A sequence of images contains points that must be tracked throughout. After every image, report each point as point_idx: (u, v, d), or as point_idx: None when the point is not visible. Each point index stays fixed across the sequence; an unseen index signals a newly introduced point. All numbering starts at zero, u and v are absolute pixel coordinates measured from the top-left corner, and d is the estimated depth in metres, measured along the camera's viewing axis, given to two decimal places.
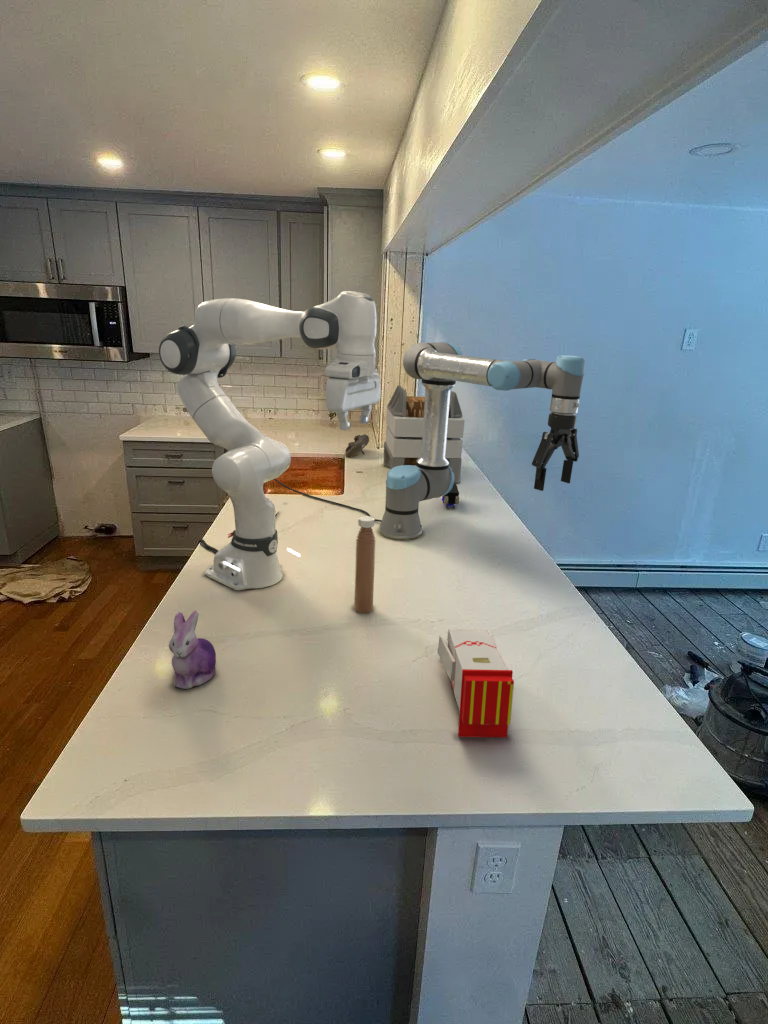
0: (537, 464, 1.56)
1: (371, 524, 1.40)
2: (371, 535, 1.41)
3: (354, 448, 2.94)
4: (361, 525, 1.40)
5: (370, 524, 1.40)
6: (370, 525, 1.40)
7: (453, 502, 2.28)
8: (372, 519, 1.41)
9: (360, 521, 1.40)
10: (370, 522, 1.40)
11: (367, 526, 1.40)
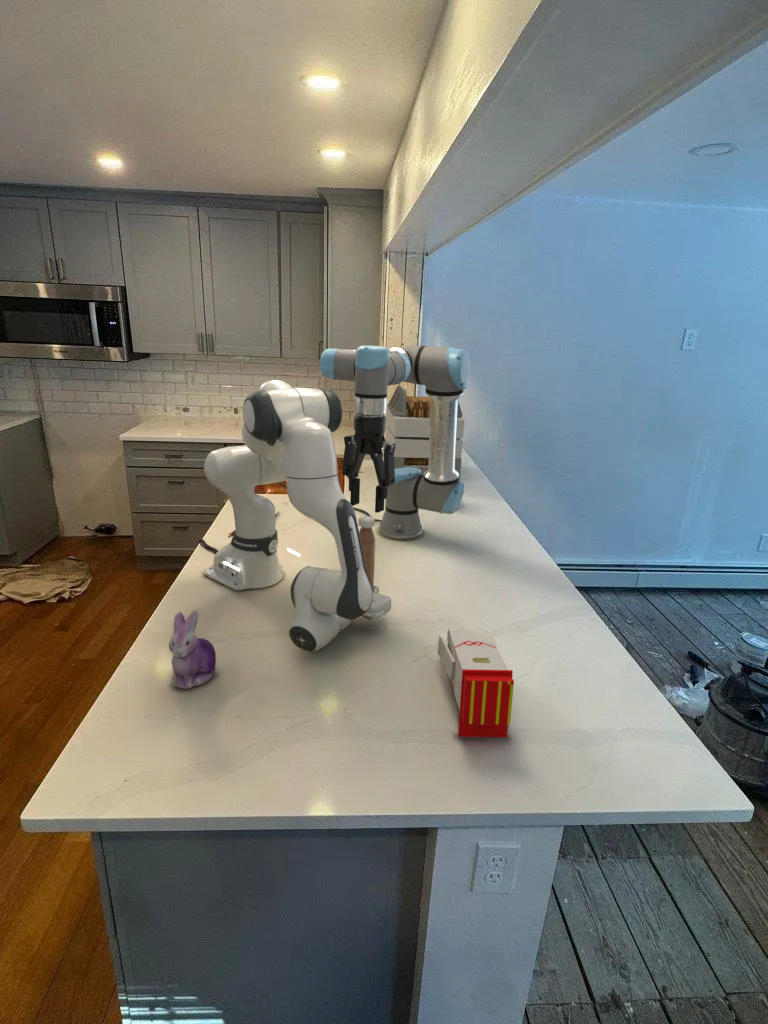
0: (393, 481, 1.34)
1: (371, 524, 1.40)
2: (371, 535, 1.41)
3: None
4: (361, 525, 1.40)
5: (370, 524, 1.40)
6: (370, 525, 1.40)
7: None
8: (372, 519, 1.41)
9: (360, 521, 1.40)
10: (370, 522, 1.40)
11: (367, 526, 1.40)
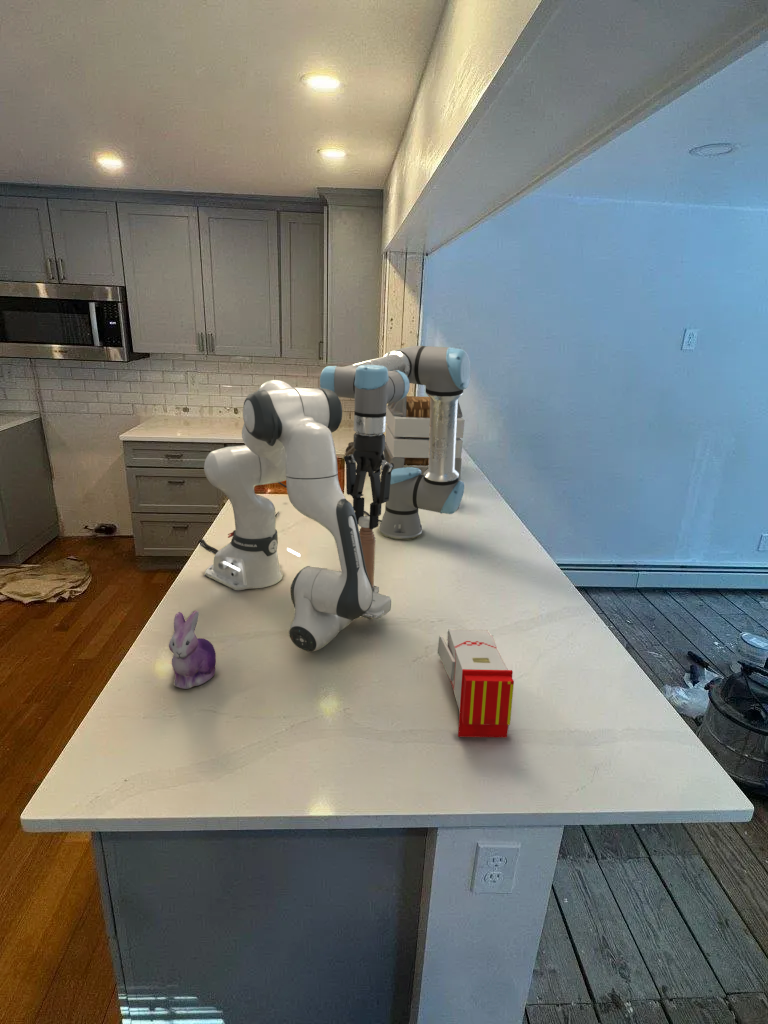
0: (387, 499, 1.36)
1: None
2: (371, 535, 1.41)
3: None
4: (361, 525, 1.40)
5: None
6: None
7: None
8: None
9: (360, 521, 1.40)
10: None
11: (367, 526, 1.40)
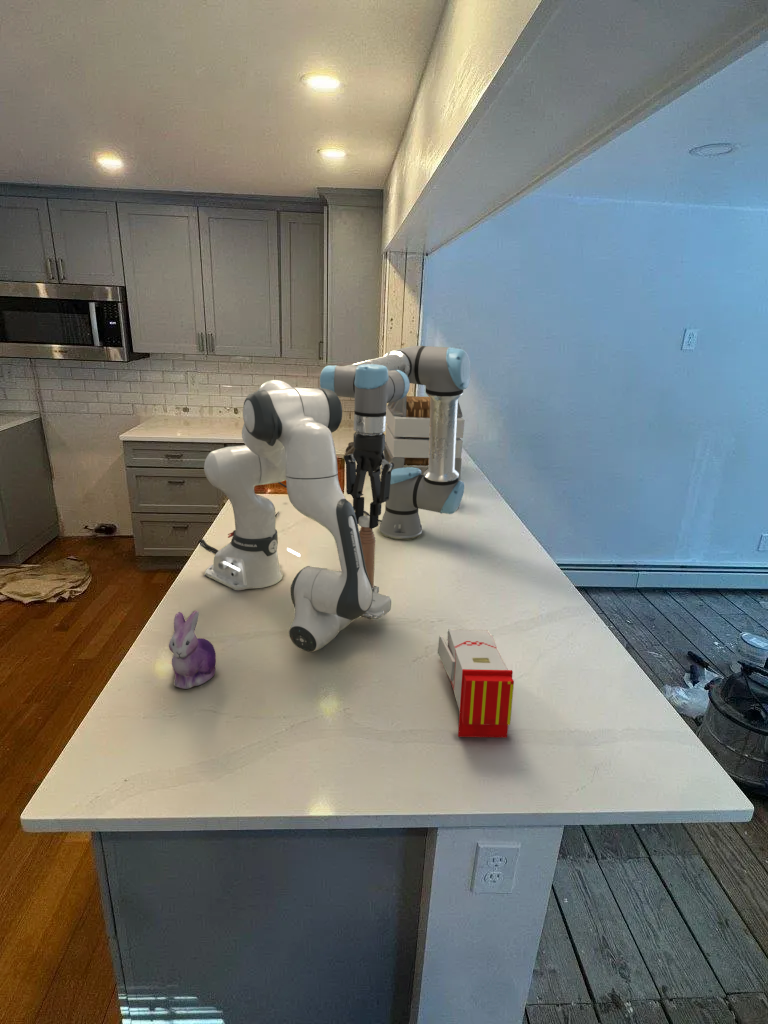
0: (387, 498, 1.36)
1: None
2: (371, 535, 1.41)
3: (354, 448, 2.94)
4: None
5: None
6: None
7: None
8: (366, 516, 1.42)
9: None
10: None
11: None
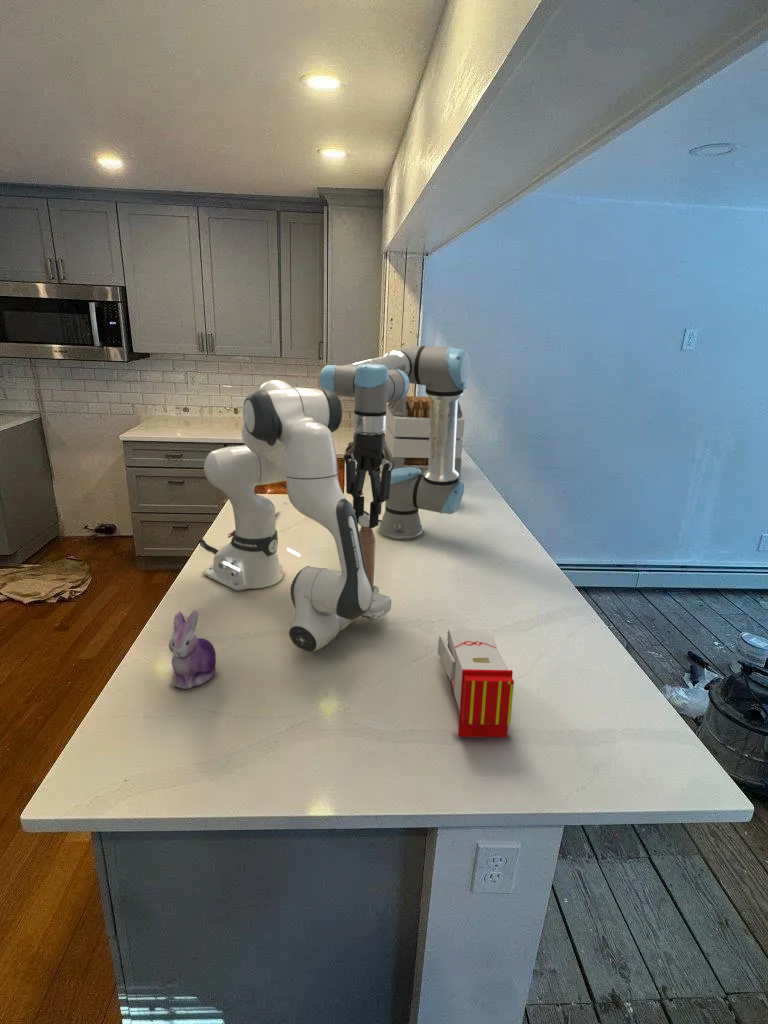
0: (387, 498, 1.36)
1: None
2: (371, 535, 1.41)
3: (354, 448, 2.94)
4: None
5: None
6: None
7: None
8: (360, 518, 1.41)
9: None
10: None
11: None
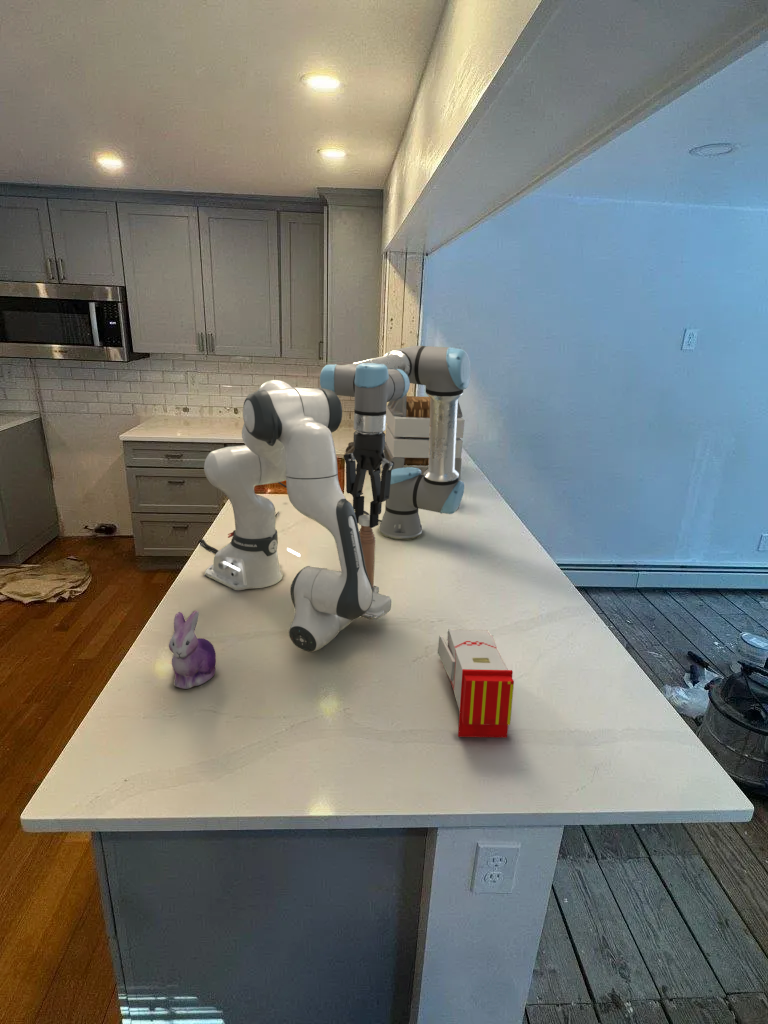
0: (387, 497, 1.36)
1: (365, 523, 1.39)
2: (371, 535, 1.41)
3: (354, 448, 2.94)
4: (358, 522, 1.41)
5: (364, 523, 1.39)
6: (364, 524, 1.40)
7: None
8: (369, 519, 1.40)
9: (359, 517, 1.41)
10: (364, 521, 1.39)
11: (361, 524, 1.40)
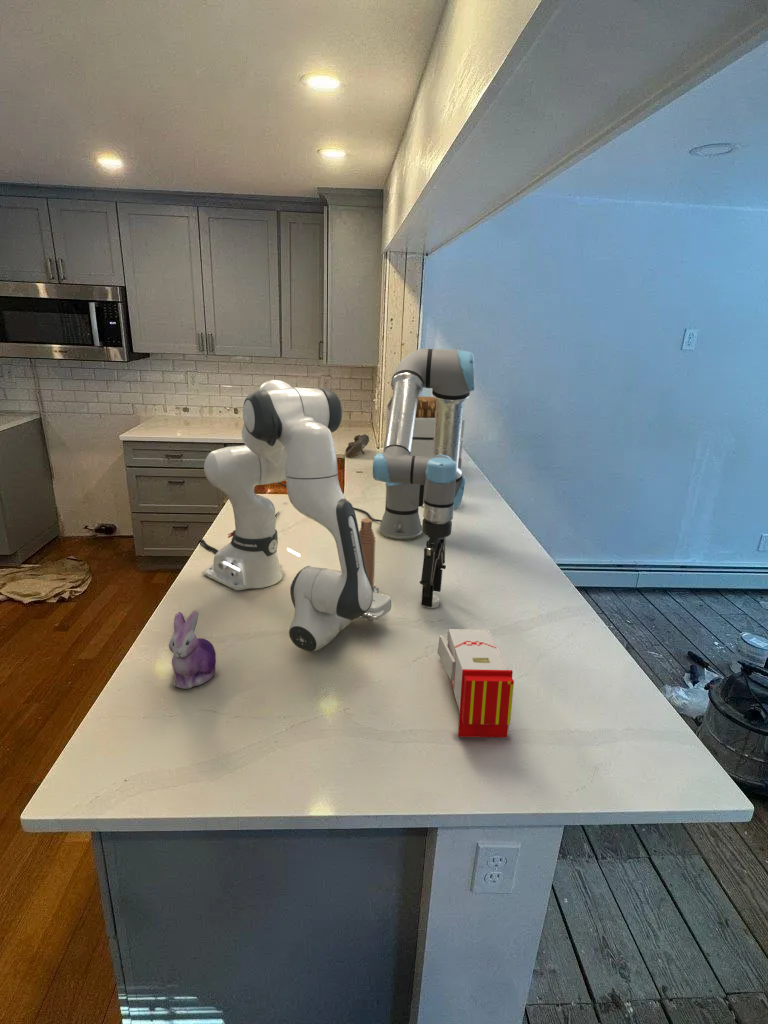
0: None
1: None
2: (371, 535, 1.41)
3: (354, 448, 2.94)
4: (434, 606, 1.51)
5: None
6: None
7: None
8: (435, 597, 1.53)
9: (432, 603, 1.51)
10: (438, 600, 1.53)
11: (437, 604, 1.52)
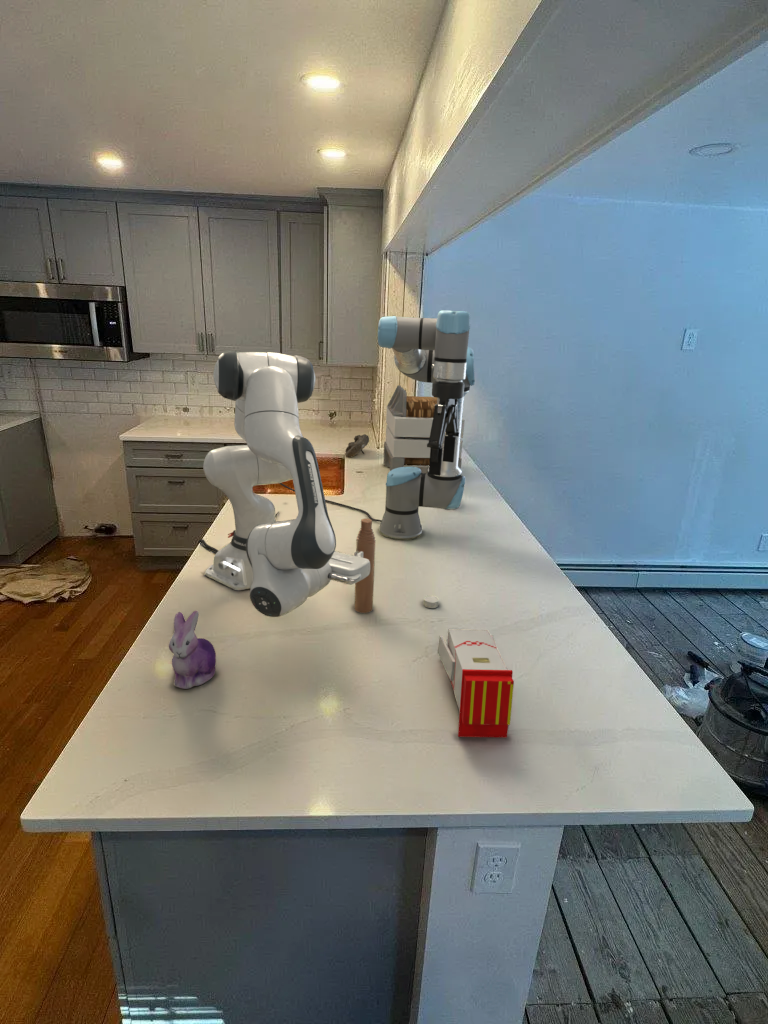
0: None
1: None
2: (371, 535, 1.41)
3: (354, 448, 2.94)
4: (434, 606, 1.51)
5: None
6: None
7: None
8: (435, 597, 1.53)
9: (432, 603, 1.51)
10: (438, 600, 1.53)
11: (437, 604, 1.52)
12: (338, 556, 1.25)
